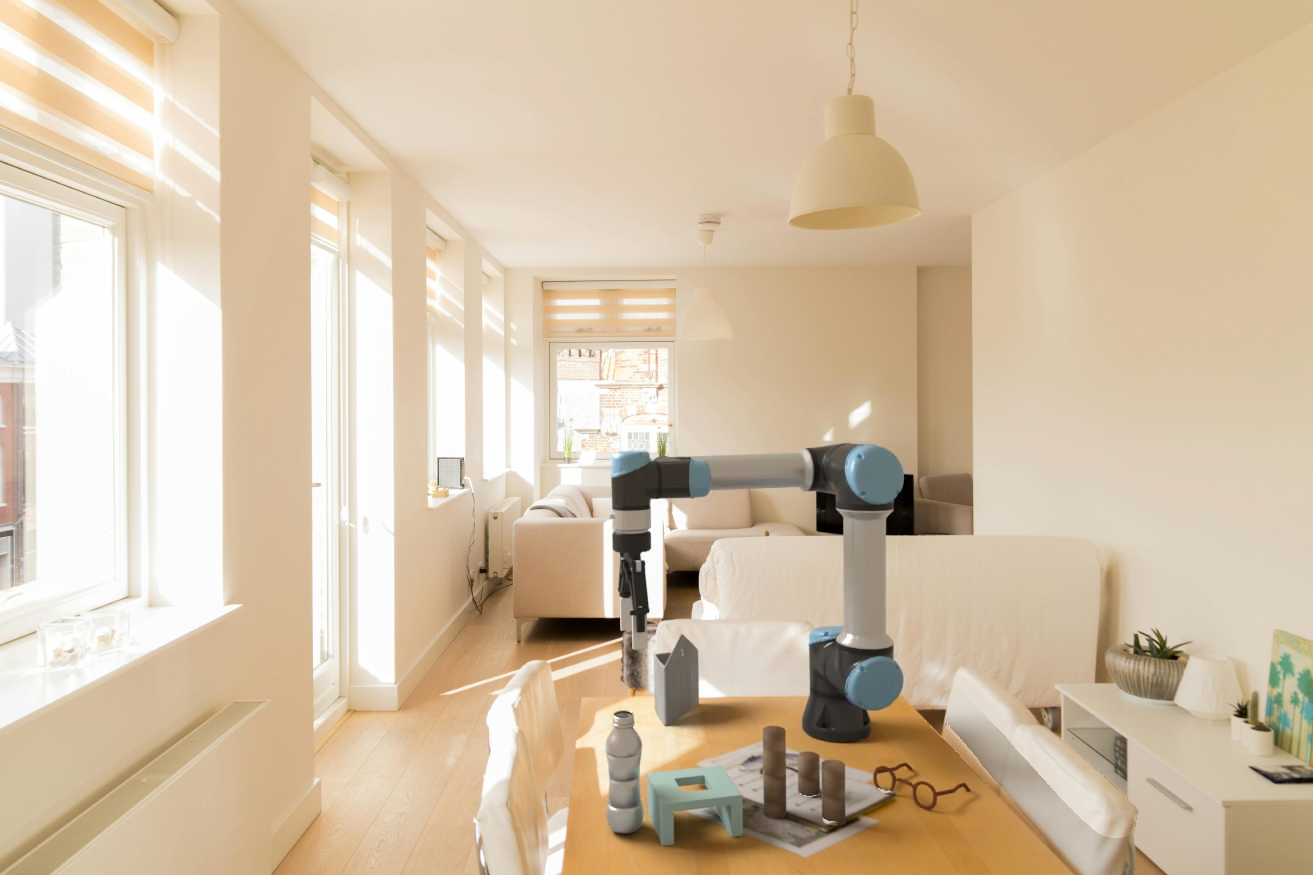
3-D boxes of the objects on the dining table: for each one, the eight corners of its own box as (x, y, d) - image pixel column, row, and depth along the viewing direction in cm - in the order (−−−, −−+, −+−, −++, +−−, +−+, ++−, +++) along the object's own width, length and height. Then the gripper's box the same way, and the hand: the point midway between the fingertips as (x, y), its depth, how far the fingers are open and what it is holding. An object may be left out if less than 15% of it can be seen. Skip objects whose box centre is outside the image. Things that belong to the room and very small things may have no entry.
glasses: (871, 789, 154) (871, 764, 154) (910, 770, 163) (910, 745, 163) (934, 815, 144) (934, 787, 144) (972, 792, 153) (972, 766, 153)
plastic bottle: (611, 841, 136) (609, 723, 136) (602, 822, 143) (600, 709, 142) (648, 835, 138) (646, 718, 137) (638, 816, 145) (636, 705, 144)
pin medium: (839, 813, 145) (839, 758, 144) (849, 824, 141) (849, 767, 140) (818, 816, 144) (817, 760, 143) (827, 827, 140) (827, 770, 139)
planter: (671, 698, 204) (670, 622, 204) (699, 704, 200) (698, 626, 200) (637, 720, 190) (636, 638, 190) (666, 726, 186) (665, 642, 186)
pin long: (781, 806, 148) (780, 724, 147) (789, 817, 144) (788, 733, 143) (760, 808, 147) (759, 726, 146) (768, 819, 143) (767, 735, 142)
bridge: (722, 802, 149) (721, 764, 149) (742, 835, 138) (742, 794, 137) (647, 811, 146) (647, 773, 146) (662, 845, 135) (661, 804, 134)
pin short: (814, 786, 155) (814, 750, 155) (823, 795, 151) (822, 758, 151) (794, 788, 154) (794, 752, 154) (803, 798, 151) (802, 761, 150)
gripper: (603, 523, 169) (605, 624, 170) (623, 540, 145) (625, 658, 146) (638, 521, 171) (640, 621, 172) (664, 538, 147) (666, 655, 147)
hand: (633, 638), depth 159 cm, fingers open, 13 cm apart
